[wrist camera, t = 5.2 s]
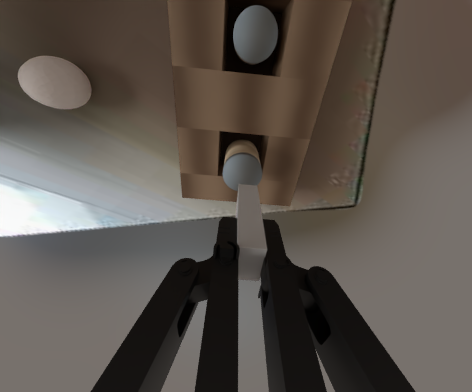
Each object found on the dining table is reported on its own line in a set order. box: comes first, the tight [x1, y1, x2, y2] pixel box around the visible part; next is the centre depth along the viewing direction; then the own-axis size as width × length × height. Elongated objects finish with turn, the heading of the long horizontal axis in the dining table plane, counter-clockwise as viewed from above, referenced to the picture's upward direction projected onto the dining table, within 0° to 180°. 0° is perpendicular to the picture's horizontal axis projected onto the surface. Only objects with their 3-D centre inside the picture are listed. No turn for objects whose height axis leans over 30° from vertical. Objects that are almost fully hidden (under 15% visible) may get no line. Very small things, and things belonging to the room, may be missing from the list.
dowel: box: [223, 139, 262, 191], centre depth 23 cm, size 4×4×6 cm
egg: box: [18, 56, 92, 109], centre depth 22 cm, size 5×5×8 cm
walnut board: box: [167, 0, 352, 206], centre depth 24 cm, size 16×26×6 cm, turn 175°
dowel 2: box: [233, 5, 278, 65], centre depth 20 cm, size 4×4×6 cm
